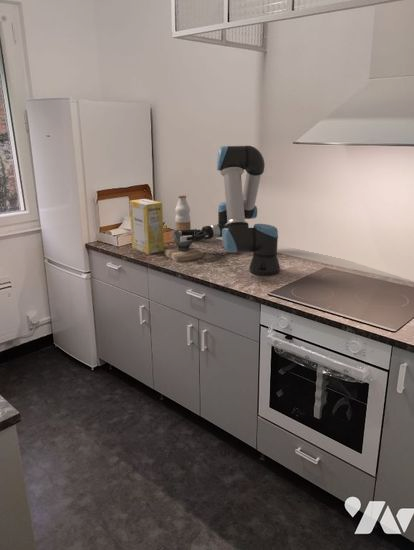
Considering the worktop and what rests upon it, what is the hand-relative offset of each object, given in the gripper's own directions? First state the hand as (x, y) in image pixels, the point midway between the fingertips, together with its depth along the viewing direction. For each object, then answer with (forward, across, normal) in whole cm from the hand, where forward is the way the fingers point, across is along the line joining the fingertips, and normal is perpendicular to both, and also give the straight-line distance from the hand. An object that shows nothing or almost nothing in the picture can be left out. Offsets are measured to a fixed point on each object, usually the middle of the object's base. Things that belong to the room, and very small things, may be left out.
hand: (175, 237), depth 247 cm
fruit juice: (-22, +33, -12) cm, 41 cm away
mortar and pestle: (-4, 0, -8) cm, 9 cm away
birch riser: (-4, 0, -12) cm, 12 cm away
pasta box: (+6, +25, -12) cm, 28 cm away
